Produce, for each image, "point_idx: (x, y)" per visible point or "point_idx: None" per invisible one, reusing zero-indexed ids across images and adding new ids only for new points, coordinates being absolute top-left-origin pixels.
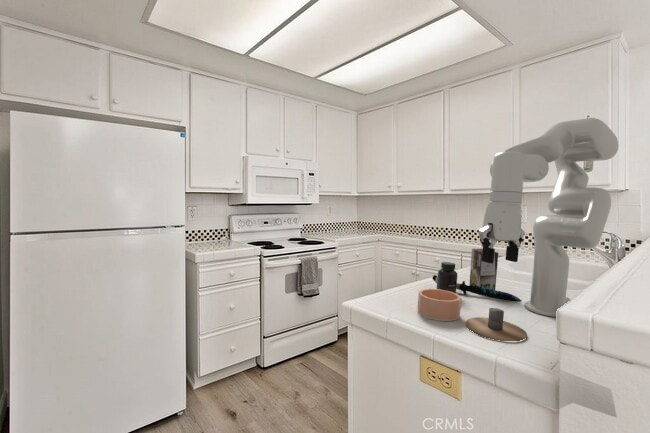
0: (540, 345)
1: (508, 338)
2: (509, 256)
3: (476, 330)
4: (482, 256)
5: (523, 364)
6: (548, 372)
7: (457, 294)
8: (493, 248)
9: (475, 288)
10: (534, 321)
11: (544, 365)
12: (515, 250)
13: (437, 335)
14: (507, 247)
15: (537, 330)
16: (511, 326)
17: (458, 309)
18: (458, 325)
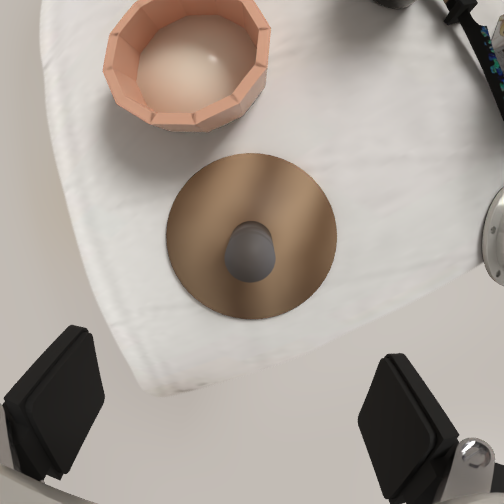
0: (267, 345)
1: (214, 300)
2: (382, 404)
3: (176, 227)
4: (54, 346)
5: (142, 362)
6: (160, 392)
7: (263, 69)
8: (50, 473)
9: (481, 41)
10: (424, 259)
11: (178, 382)
12: (383, 481)
13: (71, 191)
14: (423, 442)
15: (363, 297)
16: (311, 259)
17: (206, 126)
18: (174, 164)
